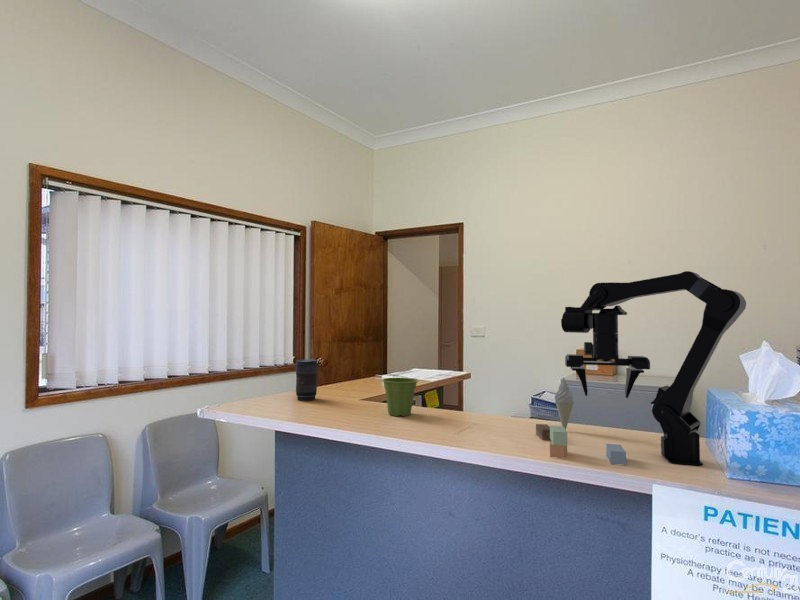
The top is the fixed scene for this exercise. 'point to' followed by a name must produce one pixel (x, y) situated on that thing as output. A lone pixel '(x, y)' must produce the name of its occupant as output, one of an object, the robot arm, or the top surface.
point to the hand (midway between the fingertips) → (606, 396)
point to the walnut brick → (543, 431)
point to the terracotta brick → (557, 450)
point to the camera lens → (306, 379)
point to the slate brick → (615, 454)
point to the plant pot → (399, 395)
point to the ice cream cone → (564, 402)
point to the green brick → (558, 435)
